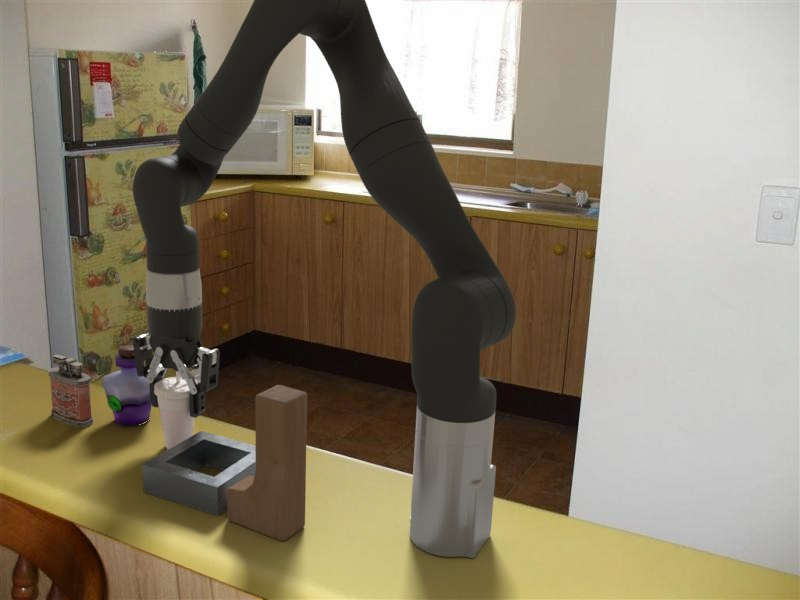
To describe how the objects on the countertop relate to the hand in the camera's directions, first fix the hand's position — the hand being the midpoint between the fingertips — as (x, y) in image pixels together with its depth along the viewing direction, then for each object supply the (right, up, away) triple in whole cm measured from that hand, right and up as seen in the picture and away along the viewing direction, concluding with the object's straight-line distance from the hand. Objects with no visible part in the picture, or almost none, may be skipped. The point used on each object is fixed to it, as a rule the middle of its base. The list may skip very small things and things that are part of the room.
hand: (177, 410), depth 123 cm
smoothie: (0, -6, +2) cm, 6 cm away
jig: (+7, -9, -9) cm, 14 cm away
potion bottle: (-10, -3, +10) cm, 14 cm away
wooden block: (+16, -12, -18) cm, 27 cm away
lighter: (-19, -3, +9) cm, 21 cm away
